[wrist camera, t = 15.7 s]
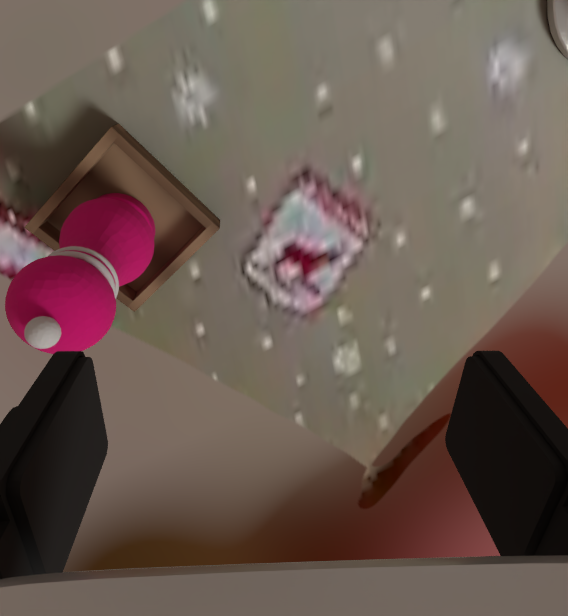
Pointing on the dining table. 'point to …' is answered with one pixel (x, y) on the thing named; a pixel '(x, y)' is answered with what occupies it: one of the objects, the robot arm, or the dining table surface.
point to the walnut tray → (145, 188)
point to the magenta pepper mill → (82, 275)
